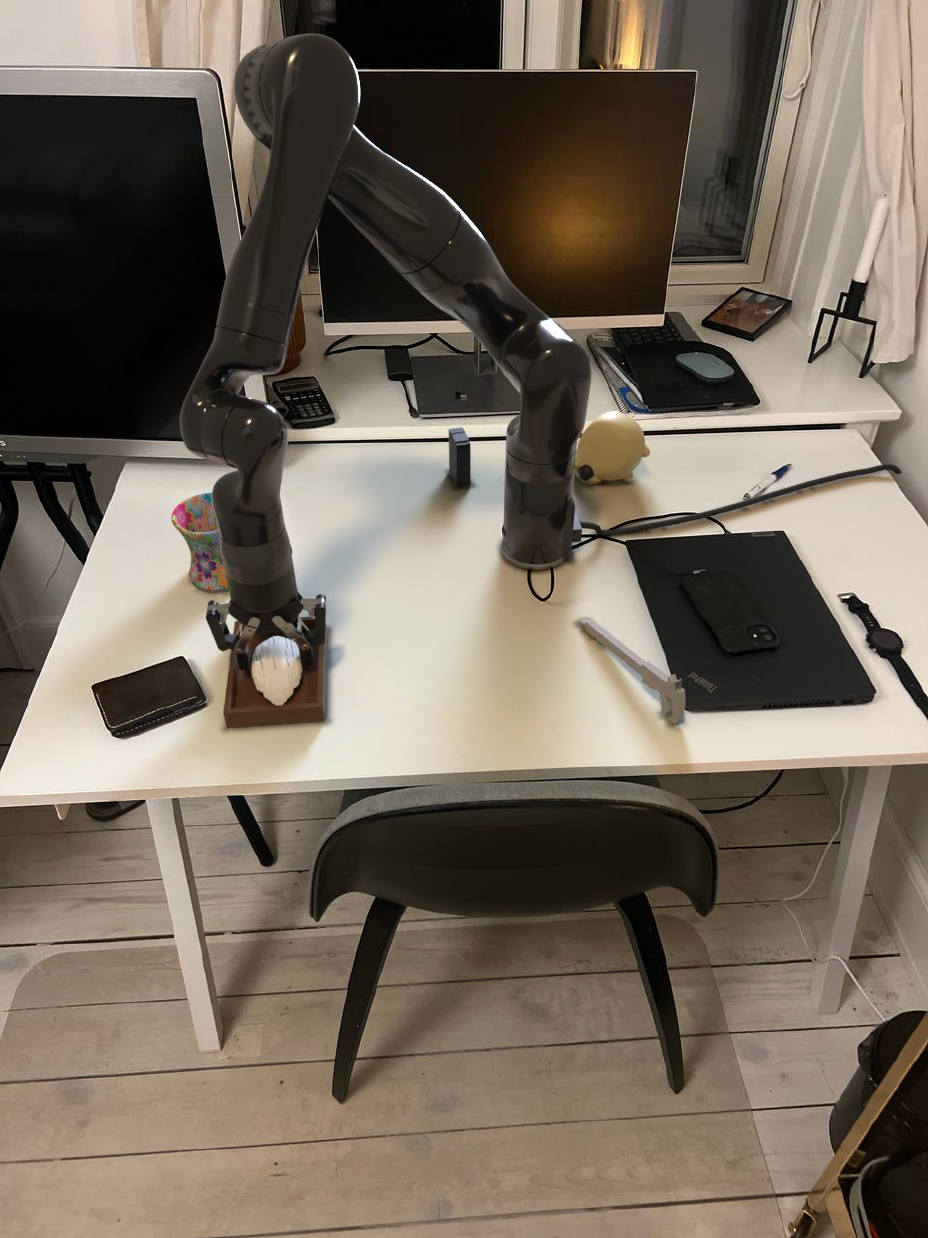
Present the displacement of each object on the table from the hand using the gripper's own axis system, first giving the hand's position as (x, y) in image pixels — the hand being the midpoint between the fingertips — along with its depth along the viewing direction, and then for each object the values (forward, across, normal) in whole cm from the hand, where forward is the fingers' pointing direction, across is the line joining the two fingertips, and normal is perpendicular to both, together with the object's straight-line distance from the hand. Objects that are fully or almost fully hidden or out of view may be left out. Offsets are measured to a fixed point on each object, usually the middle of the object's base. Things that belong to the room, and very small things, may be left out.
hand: (277, 667), depth 117 cm
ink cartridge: (+2, +26, +41) cm, 48 cm away
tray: (+2, 0, 0) cm, 2 cm away
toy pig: (+2, +49, +40) cm, 63 cm away
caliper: (+2, +43, -3) cm, 43 cm away
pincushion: (+1, 0, 0) cm, 1 cm away
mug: (+2, -9, +22) cm, 24 cm away
